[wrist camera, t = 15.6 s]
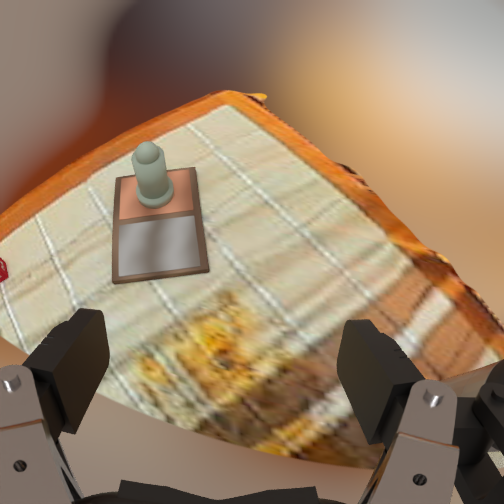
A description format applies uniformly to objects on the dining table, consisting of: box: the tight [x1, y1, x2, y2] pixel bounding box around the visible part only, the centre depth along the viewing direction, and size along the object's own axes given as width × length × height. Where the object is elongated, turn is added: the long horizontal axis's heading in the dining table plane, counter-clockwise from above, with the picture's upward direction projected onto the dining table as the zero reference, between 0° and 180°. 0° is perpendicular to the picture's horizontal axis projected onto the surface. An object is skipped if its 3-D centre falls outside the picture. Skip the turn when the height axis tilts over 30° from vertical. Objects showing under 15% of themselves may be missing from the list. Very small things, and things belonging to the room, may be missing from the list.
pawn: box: [132, 142, 174, 209], centre depth 42 cm, size 6×6×10 cm
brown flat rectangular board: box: [112, 167, 209, 284], centre depth 45 cm, size 13×18×1 cm
